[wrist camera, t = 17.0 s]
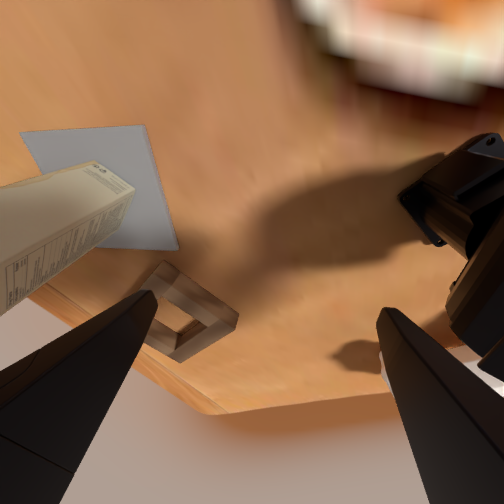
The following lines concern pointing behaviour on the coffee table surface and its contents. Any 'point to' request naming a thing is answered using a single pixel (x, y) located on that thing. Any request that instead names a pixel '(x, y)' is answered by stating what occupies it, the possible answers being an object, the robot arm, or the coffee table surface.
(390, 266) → the coffee table surface
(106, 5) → the coffee table surface
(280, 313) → the coffee table surface
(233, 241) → the coffee table surface
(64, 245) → the skincare box
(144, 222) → the slate mat
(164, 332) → the walnut holder
